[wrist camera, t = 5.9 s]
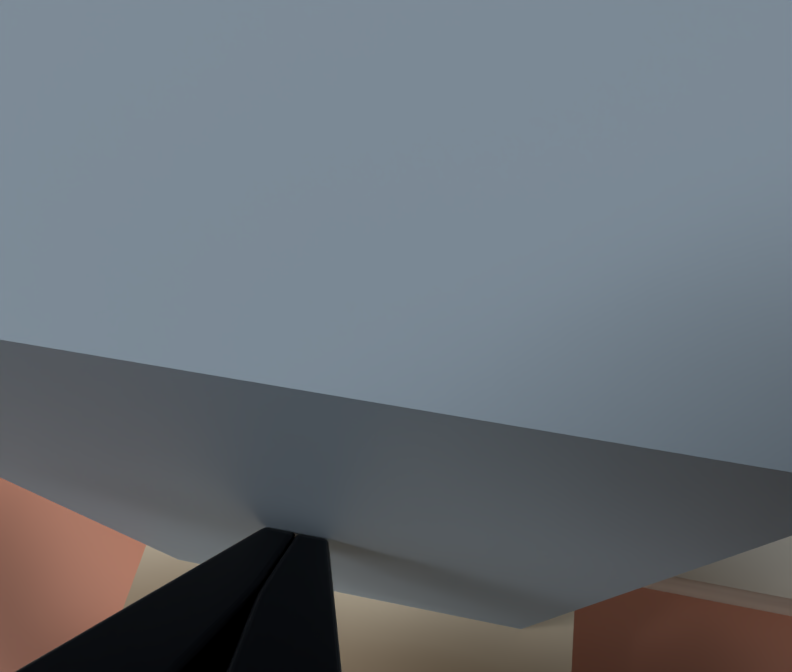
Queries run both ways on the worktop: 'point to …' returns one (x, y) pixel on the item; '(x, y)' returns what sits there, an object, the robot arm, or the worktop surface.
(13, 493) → the trap board
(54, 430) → the slate block
